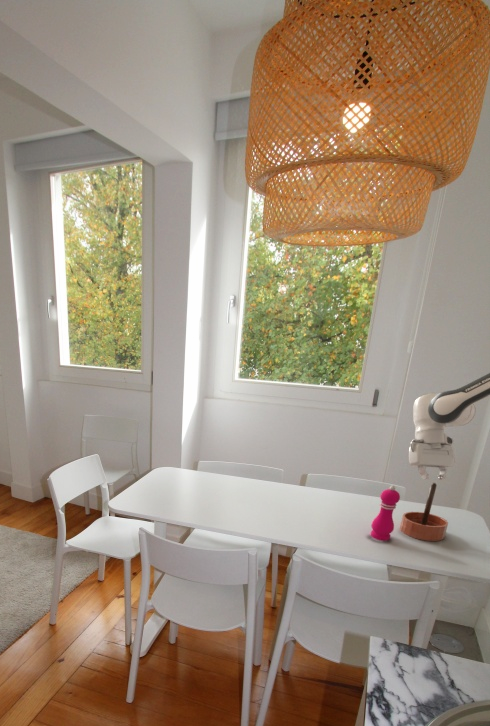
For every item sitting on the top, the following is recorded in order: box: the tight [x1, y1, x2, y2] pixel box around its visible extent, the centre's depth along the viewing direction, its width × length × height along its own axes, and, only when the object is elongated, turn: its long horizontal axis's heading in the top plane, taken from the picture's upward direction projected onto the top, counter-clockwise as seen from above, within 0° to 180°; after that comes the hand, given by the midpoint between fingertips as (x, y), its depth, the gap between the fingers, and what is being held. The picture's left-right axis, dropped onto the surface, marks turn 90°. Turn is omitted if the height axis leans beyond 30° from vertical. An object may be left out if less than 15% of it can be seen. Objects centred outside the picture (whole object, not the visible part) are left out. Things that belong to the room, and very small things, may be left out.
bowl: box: [399, 511, 449, 542], centre depth 171 cm, size 14×14×6 cm
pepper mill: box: [370, 485, 401, 542], centre depth 164 cm, size 7×7×20 cm
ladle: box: [421, 482, 438, 526], centre depth 169 cm, size 6×6×19 cm
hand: (433, 479), depth 164 cm, fingers open, 8 cm apart
